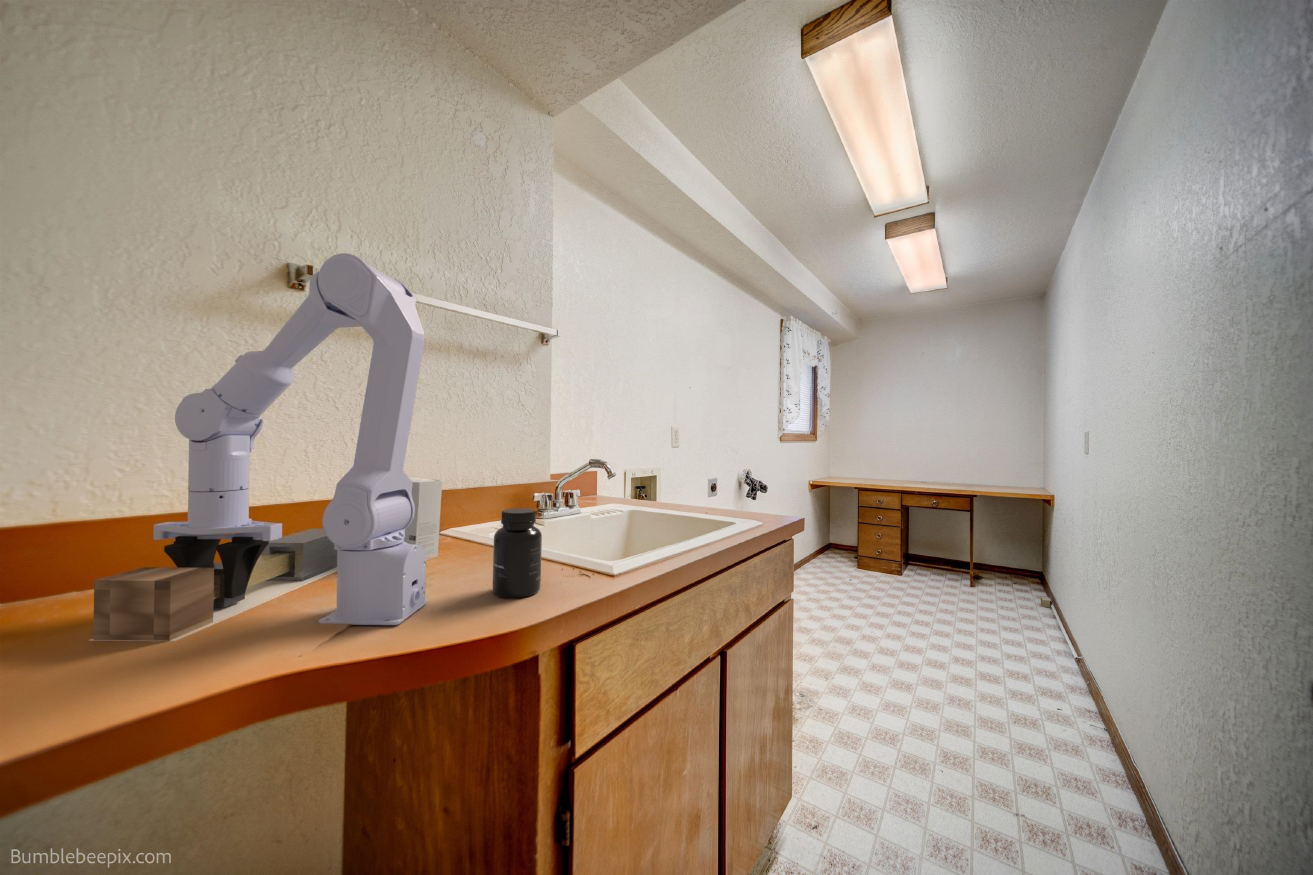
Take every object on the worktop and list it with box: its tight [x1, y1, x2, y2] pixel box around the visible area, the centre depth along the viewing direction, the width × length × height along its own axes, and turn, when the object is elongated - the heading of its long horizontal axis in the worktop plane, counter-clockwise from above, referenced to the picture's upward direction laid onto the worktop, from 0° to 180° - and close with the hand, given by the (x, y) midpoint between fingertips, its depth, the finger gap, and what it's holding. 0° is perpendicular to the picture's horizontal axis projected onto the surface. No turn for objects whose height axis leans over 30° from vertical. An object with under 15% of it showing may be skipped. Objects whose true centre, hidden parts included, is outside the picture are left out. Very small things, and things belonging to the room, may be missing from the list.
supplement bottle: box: [492, 507, 543, 599], centre depth 69 cm, size 7×7×12 cm
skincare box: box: [404, 476, 443, 561], centre depth 85 cm, size 8×6×15 cm
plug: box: [197, 551, 295, 607], centre depth 62 cm, size 4×19×5 cm, turn 1°
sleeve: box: [260, 528, 337, 581], centre depth 76 cm, size 6×10×6 cm, turn 1°
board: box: [88, 567, 337, 642], centre depth 65 cm, size 9×31×1 cm, turn 1°
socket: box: [92, 566, 214, 642], centre depth 52 cm, size 8×5×6 cm, turn 91°
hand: (218, 595), depth 60 cm, fingers closed on plug, 4 cm apart
